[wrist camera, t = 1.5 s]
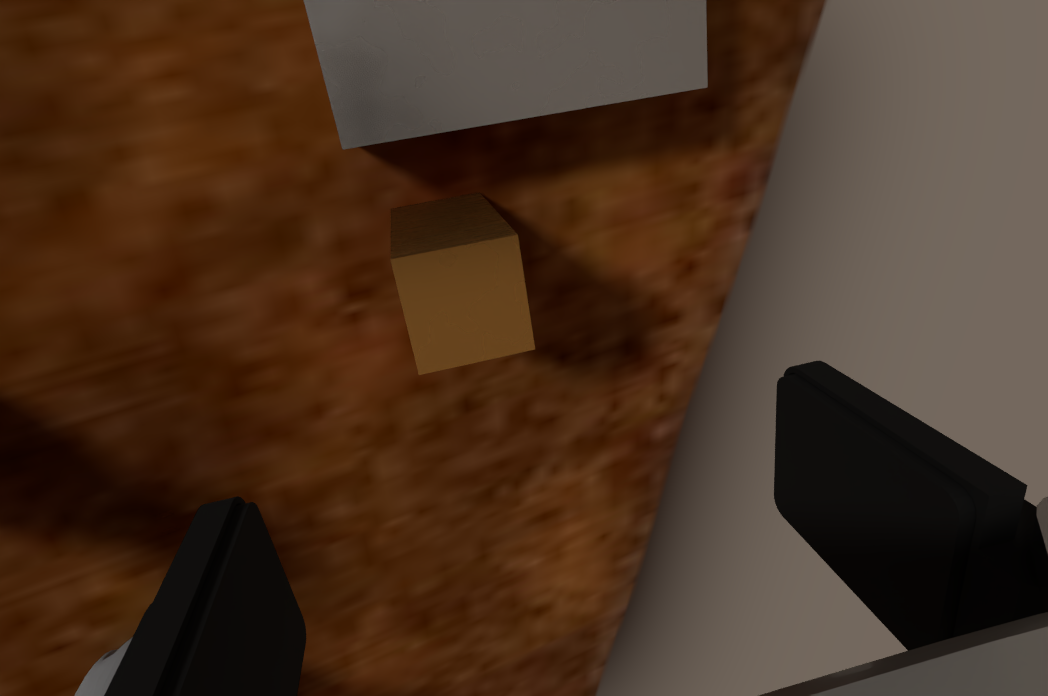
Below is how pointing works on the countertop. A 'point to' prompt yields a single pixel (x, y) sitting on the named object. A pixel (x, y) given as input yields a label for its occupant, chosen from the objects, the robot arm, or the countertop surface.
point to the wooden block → (459, 282)
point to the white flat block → (497, 59)
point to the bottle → (102, 673)
